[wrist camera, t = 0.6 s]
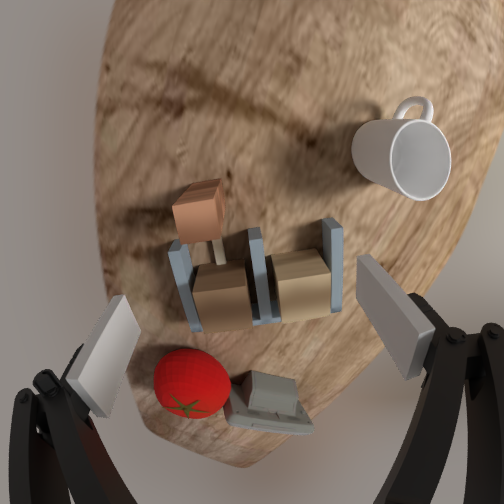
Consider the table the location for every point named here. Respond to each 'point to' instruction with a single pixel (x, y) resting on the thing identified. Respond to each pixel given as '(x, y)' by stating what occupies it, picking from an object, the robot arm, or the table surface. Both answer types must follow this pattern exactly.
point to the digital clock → (267, 405)
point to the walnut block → (222, 272)
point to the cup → (404, 152)
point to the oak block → (301, 285)
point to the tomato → (191, 383)
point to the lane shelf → (260, 275)
